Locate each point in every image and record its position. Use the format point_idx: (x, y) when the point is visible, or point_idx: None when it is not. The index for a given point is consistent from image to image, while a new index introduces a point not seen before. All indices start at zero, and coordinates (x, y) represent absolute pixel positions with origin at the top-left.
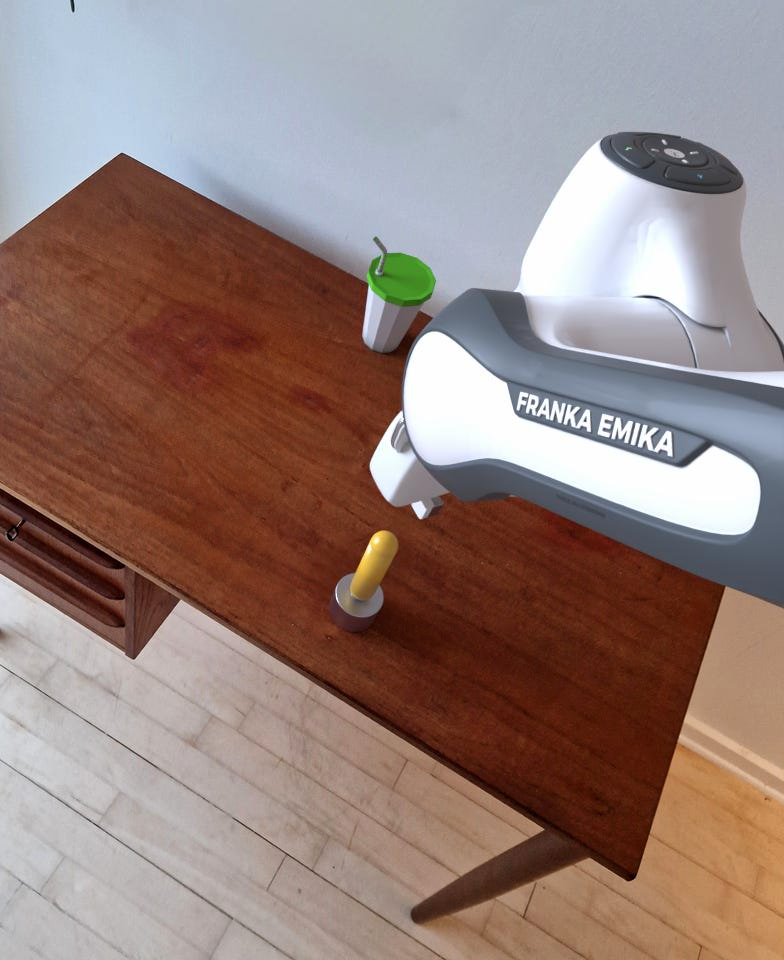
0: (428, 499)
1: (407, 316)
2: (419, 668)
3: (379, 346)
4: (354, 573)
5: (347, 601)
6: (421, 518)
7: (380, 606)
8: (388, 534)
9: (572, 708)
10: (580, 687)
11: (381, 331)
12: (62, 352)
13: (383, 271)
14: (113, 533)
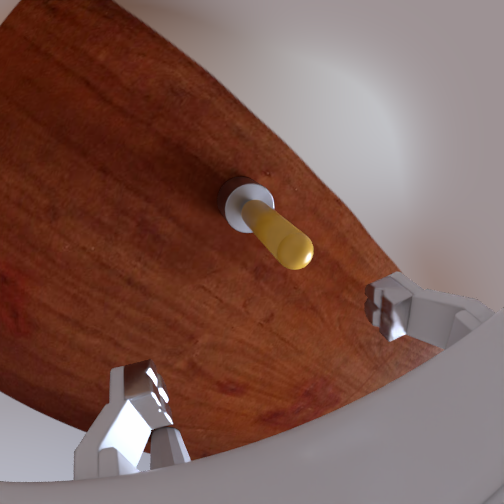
0: (467, 305)
1: (164, 463)
2: (185, 133)
3: (170, 432)
4: (249, 232)
5: (264, 201)
6: (400, 273)
7: (231, 194)
8: (299, 263)
9: (39, 89)
10: (24, 111)
11: (176, 446)
12: (375, 382)
13: None
14: (391, 270)
